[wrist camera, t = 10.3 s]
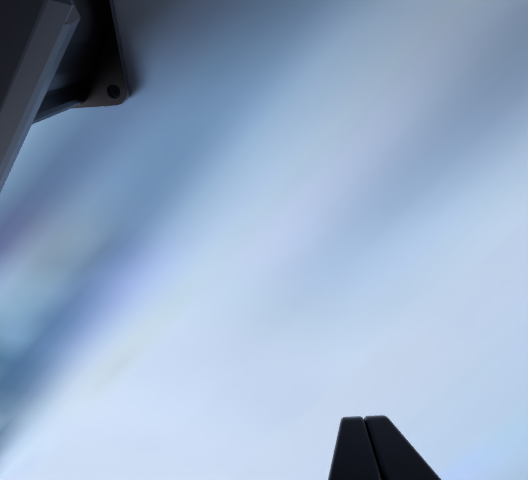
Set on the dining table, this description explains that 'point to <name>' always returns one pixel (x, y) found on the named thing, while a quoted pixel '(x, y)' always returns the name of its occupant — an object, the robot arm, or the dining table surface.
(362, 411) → the dining table surface
